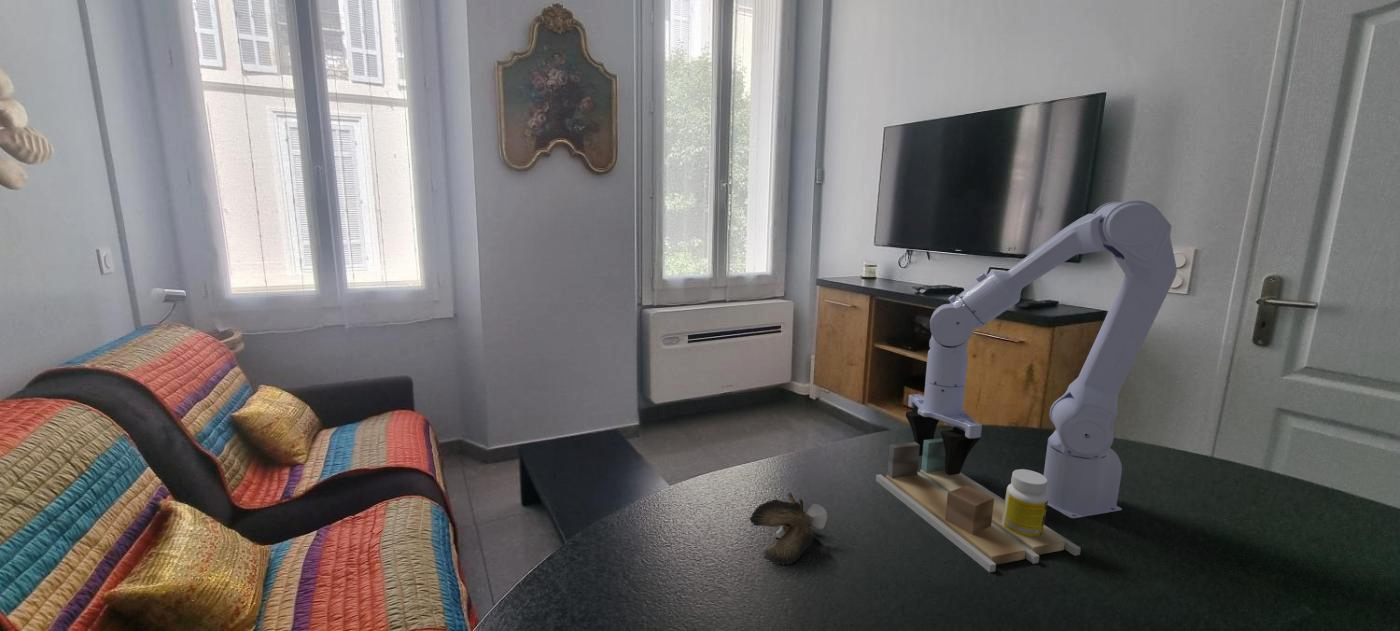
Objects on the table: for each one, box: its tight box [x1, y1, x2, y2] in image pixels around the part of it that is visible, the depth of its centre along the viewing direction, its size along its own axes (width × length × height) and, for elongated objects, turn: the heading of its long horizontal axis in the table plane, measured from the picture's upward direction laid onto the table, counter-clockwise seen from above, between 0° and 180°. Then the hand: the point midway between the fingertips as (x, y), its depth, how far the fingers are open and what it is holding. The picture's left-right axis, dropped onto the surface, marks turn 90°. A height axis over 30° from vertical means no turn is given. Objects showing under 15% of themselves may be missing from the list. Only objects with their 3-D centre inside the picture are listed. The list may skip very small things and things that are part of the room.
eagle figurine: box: [749, 491, 828, 566], centre depth 73 cm, size 8×7×9 cm
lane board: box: [875, 471, 1081, 573], centre depth 81 cm, size 14×24×2 cm, turn 16°
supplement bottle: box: [1002, 468, 1048, 537], centre depth 75 cm, size 5×5×8 cm
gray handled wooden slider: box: [885, 441, 1026, 565], centre depth 79 cm, size 5×22×6 cm, turn 16°
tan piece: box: [919, 437, 1065, 556], centre depth 81 cm, size 5×22×6 cm, turn 16°
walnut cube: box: [945, 485, 994, 535], centre depth 76 cm, size 4×4×4 cm
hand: (937, 463), depth 91 cm, fingers open, 6 cm apart
